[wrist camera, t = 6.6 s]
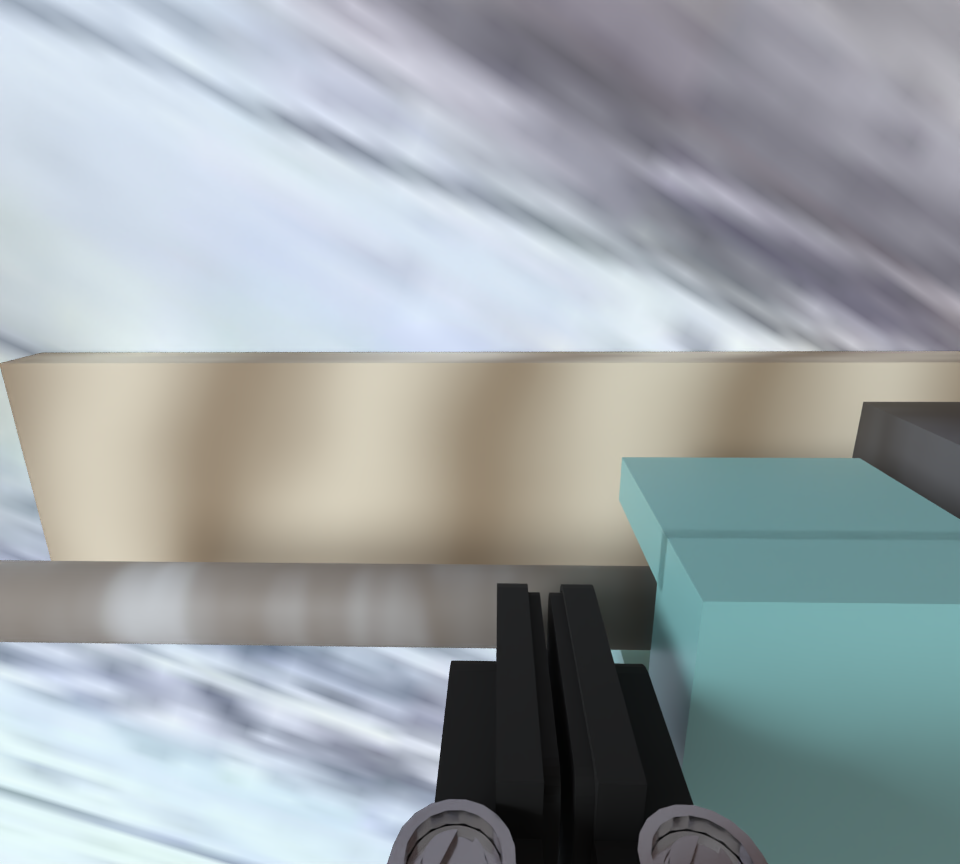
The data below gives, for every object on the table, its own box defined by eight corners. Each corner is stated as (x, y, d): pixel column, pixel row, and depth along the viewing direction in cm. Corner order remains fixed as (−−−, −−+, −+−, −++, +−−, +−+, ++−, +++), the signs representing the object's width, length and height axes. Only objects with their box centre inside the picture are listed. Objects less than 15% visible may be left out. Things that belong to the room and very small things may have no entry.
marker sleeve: (859, 457, 13) (1101, 605, 8) (819, 655, 14) (996, 886, 9) (621, 457, 13) (703, 601, 8) (608, 652, 14) (667, 878, 9)
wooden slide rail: (989, 351, 16) (1493, 468, 8) (922, 606, 18) (1254, 895, 10) (41, 352, 17) (-386, 460, 9) (100, 598, 19) (-189, 860, 11)
